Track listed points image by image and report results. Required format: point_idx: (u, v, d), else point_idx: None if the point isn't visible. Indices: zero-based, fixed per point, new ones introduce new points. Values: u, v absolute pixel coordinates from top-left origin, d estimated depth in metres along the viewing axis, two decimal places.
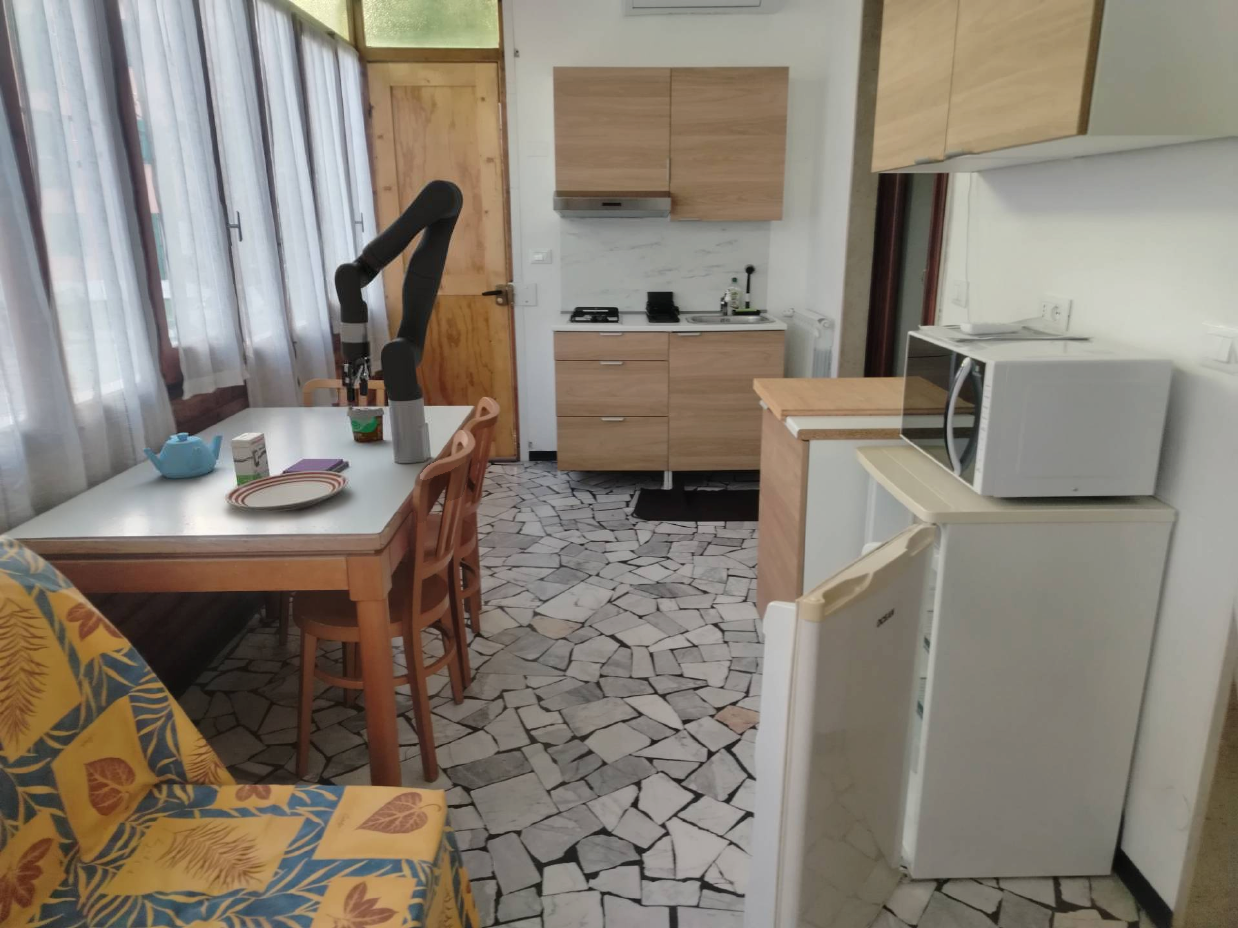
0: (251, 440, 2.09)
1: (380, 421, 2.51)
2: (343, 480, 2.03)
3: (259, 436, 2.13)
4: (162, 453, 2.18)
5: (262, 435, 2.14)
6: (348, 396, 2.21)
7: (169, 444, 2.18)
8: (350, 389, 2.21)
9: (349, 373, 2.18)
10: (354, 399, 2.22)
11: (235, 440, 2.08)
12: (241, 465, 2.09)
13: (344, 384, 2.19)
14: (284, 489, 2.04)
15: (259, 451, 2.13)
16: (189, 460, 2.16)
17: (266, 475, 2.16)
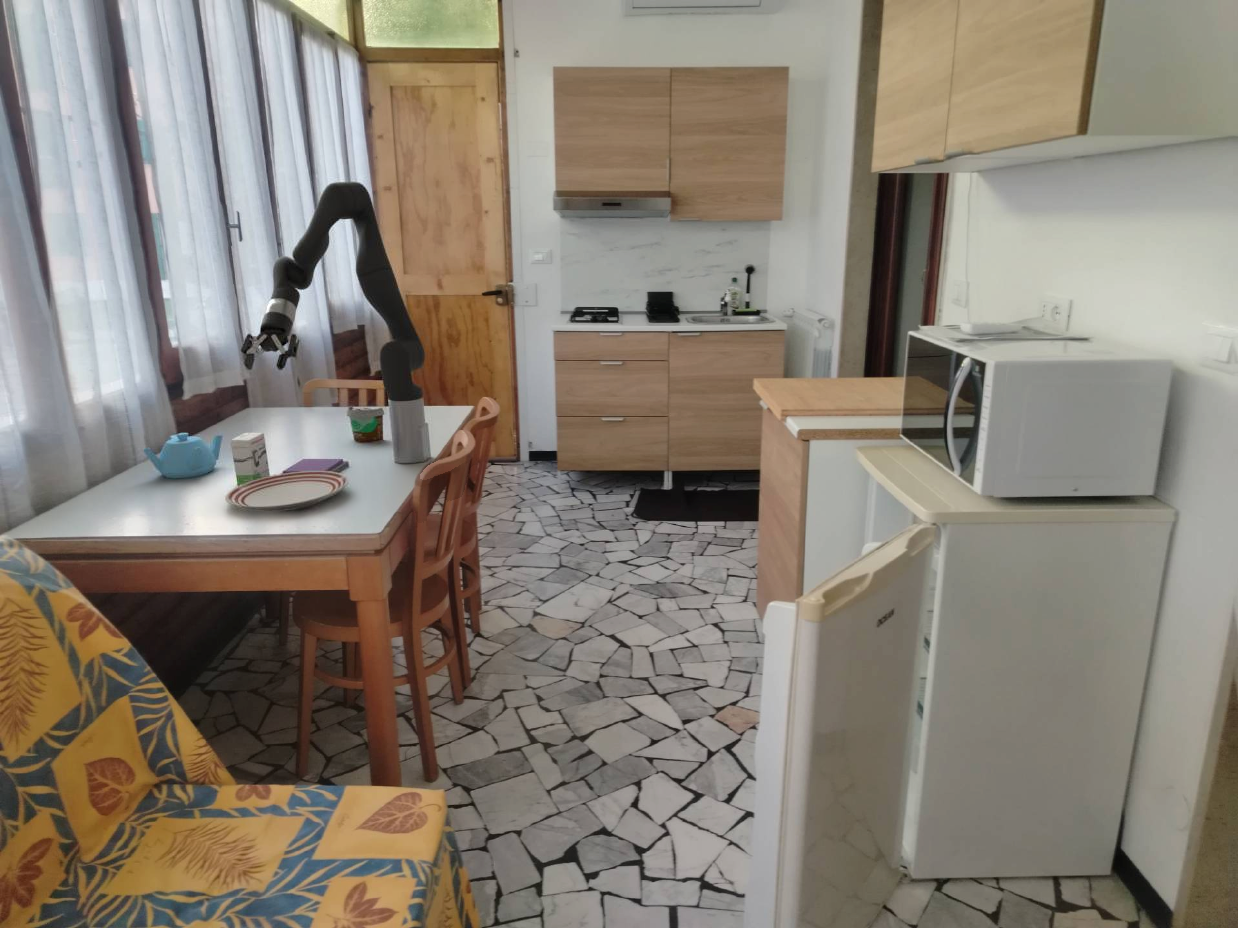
0: (251, 440, 2.09)
1: (380, 421, 2.51)
2: (343, 480, 2.03)
3: (259, 436, 2.13)
4: (162, 453, 2.18)
5: (262, 435, 2.14)
6: None
7: (169, 444, 2.18)
8: None
9: None
10: (246, 363, 2.19)
11: (235, 440, 2.08)
12: (241, 465, 2.09)
13: None
14: (284, 489, 2.04)
15: (259, 451, 2.13)
16: (189, 460, 2.16)
17: (266, 475, 2.16)
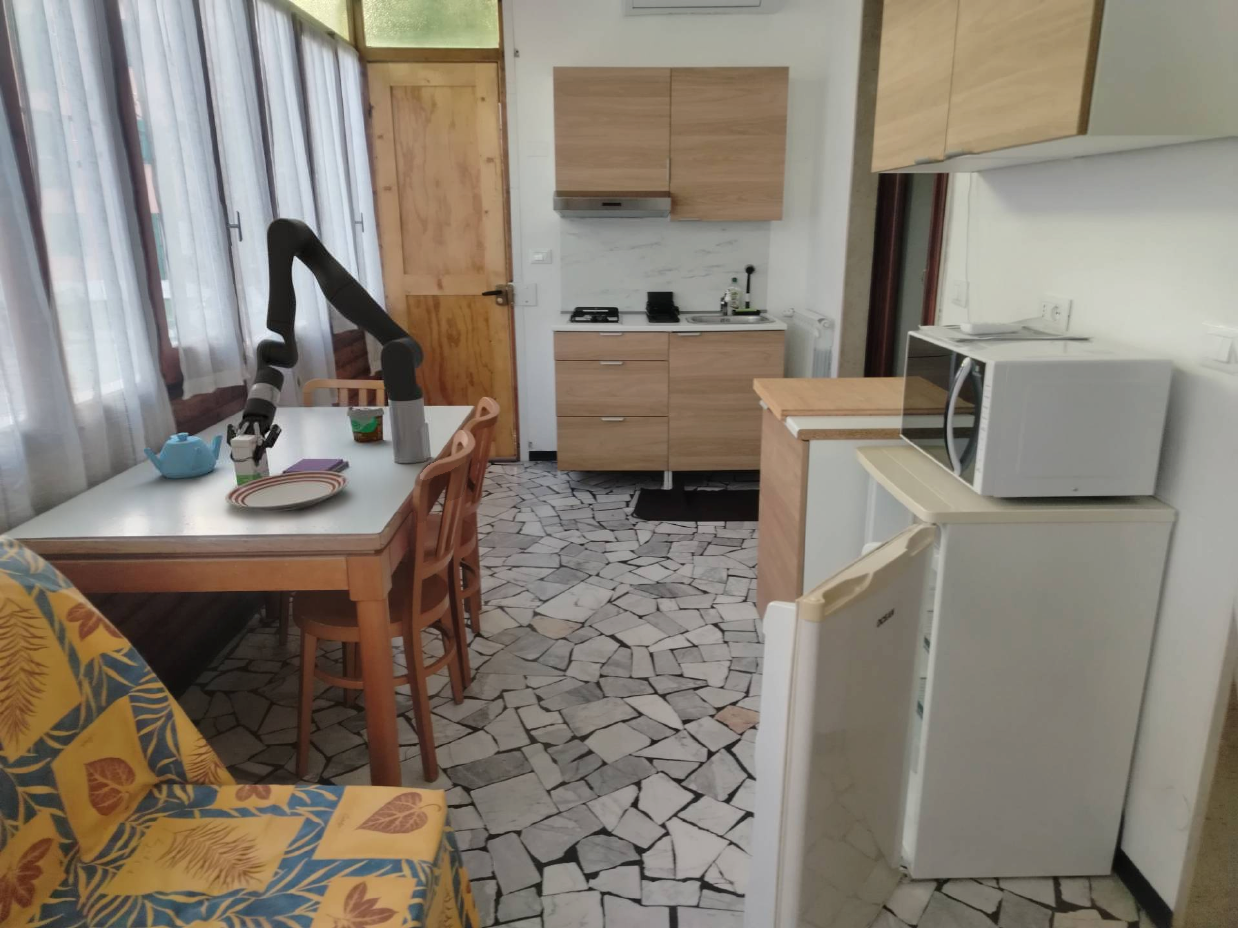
0: (251, 440, 2.09)
1: (380, 421, 2.51)
2: (343, 480, 2.03)
3: None
4: (162, 453, 2.18)
5: None
6: None
7: (169, 444, 2.18)
8: None
9: None
10: None
11: (235, 440, 2.08)
12: (240, 465, 2.09)
13: None
14: (284, 489, 2.04)
15: None
16: (189, 460, 2.16)
17: (266, 475, 2.16)
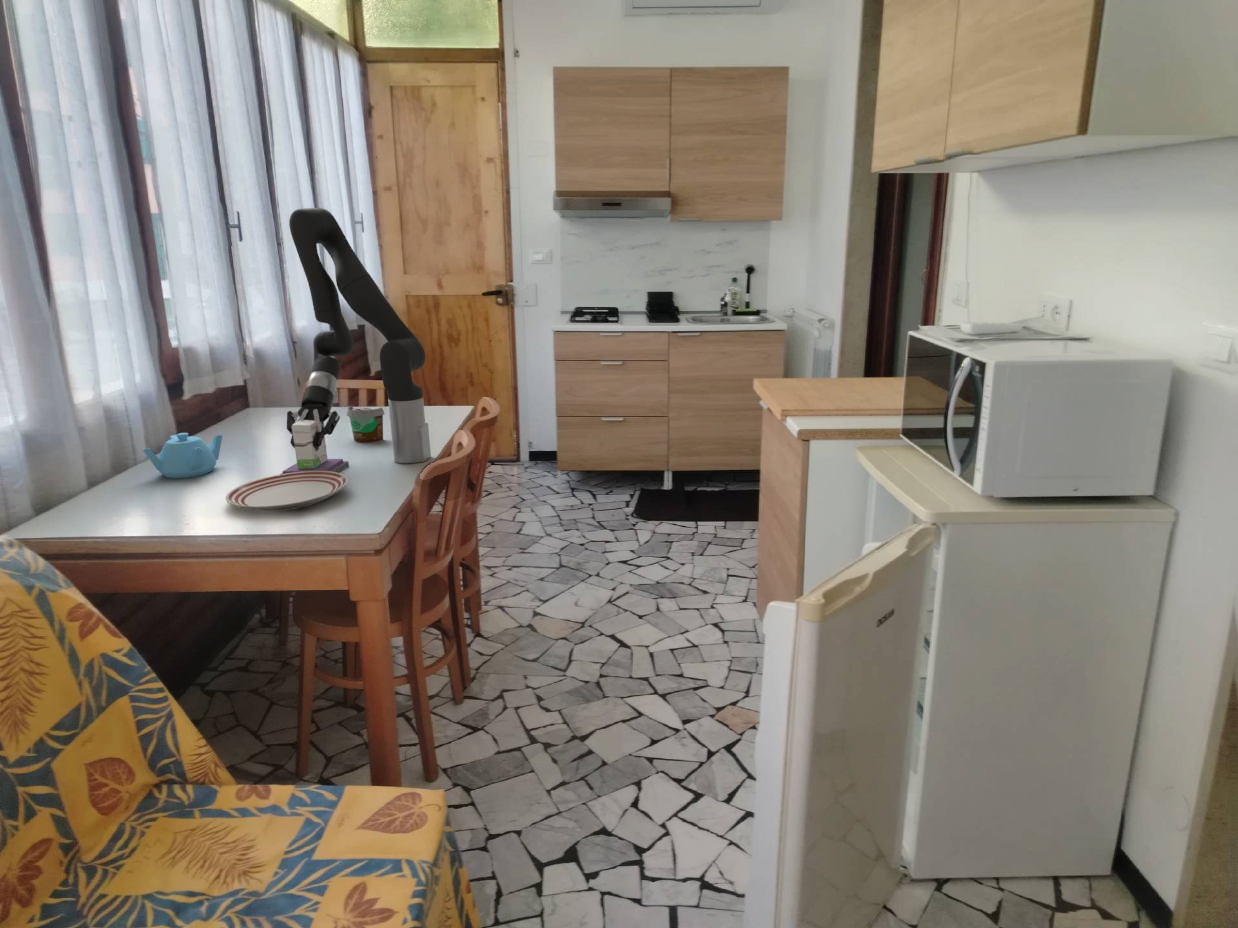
0: (311, 425, 2.14)
1: (380, 421, 2.51)
2: (343, 480, 2.03)
3: None
4: (162, 453, 2.18)
5: None
6: None
7: (169, 444, 2.18)
8: None
9: None
10: None
11: (296, 425, 2.13)
12: (301, 450, 2.14)
13: None
14: (284, 489, 2.04)
15: None
16: (189, 460, 2.16)
17: (324, 459, 2.21)
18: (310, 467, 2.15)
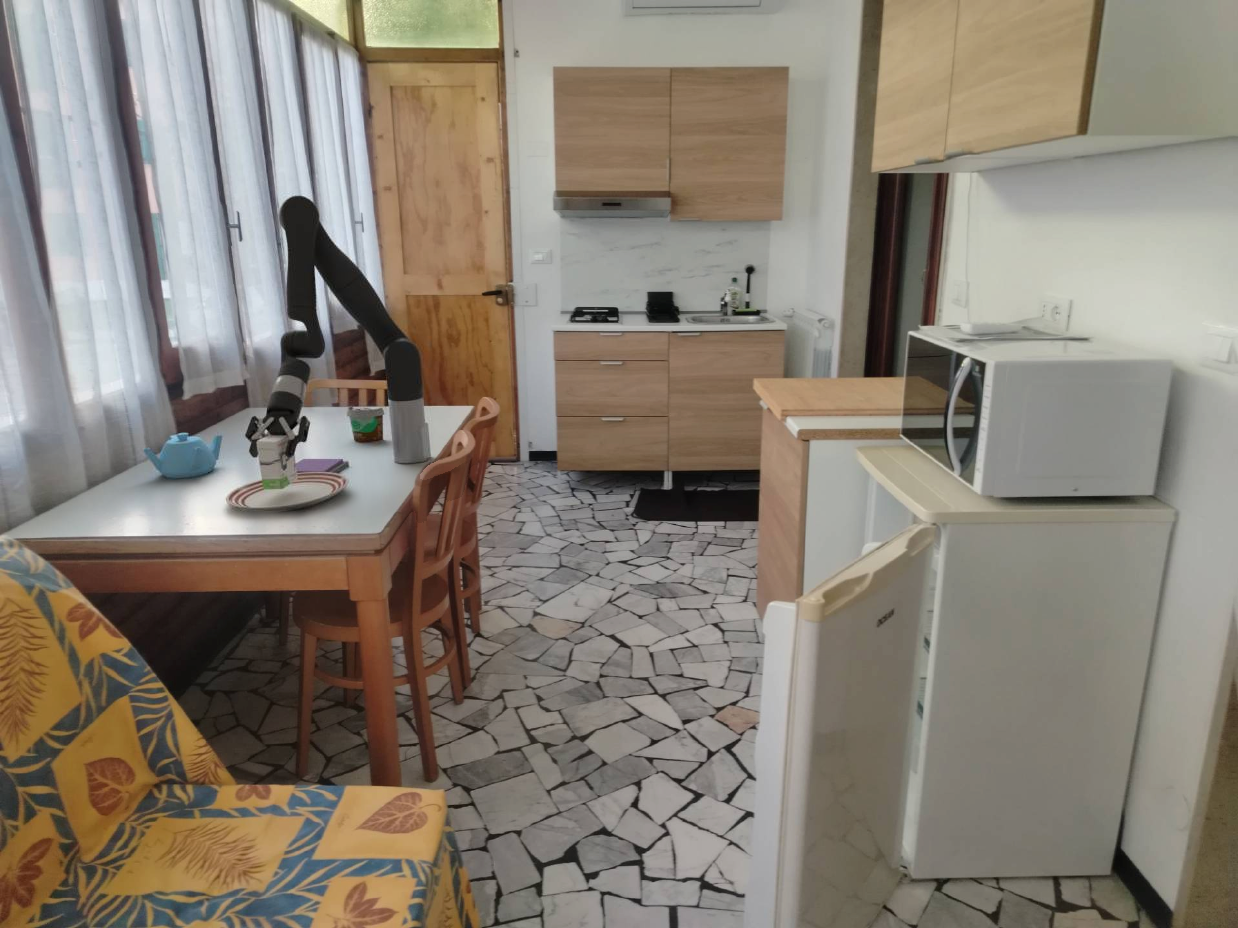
0: (278, 441, 1.94)
1: (380, 421, 2.51)
2: (343, 481, 2.03)
3: (287, 437, 1.99)
4: (162, 453, 2.18)
5: None
6: None
7: (169, 444, 2.18)
8: None
9: None
10: (251, 451, 1.96)
11: (261, 441, 1.94)
12: (267, 468, 1.95)
13: None
14: (284, 490, 2.04)
15: None
16: (189, 460, 2.16)
17: (294, 479, 2.02)
18: (277, 488, 1.96)
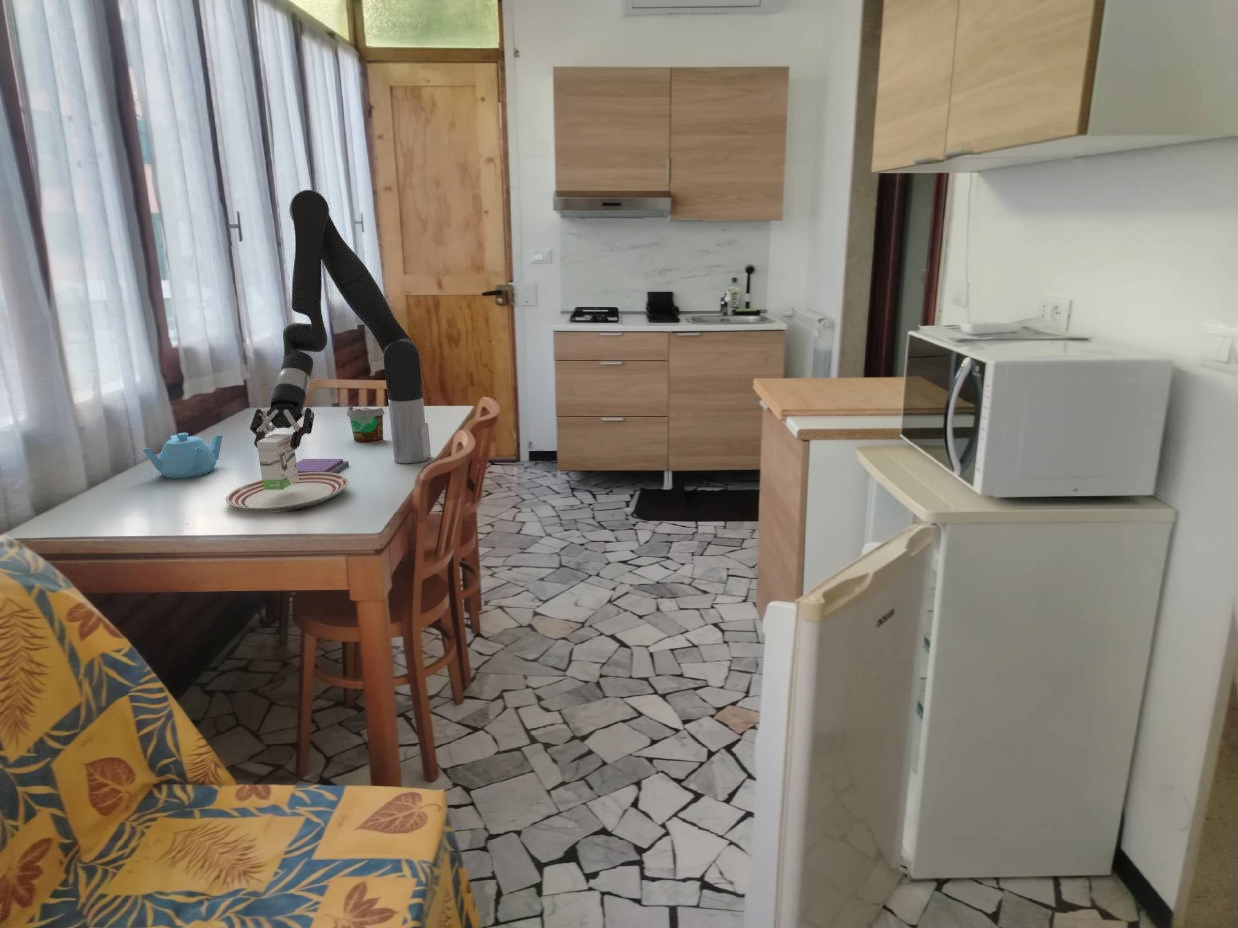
0: (278, 442, 1.94)
1: (380, 421, 2.51)
2: (343, 481, 2.03)
3: (287, 438, 1.98)
4: (162, 453, 2.18)
5: (291, 437, 2.00)
6: None
7: (169, 444, 2.18)
8: None
9: None
10: (256, 443, 1.97)
11: (262, 442, 1.93)
12: (267, 469, 1.95)
13: None
14: (284, 490, 2.04)
15: (287, 454, 1.98)
16: (189, 460, 2.16)
17: (294, 480, 2.02)
18: (277, 488, 1.96)
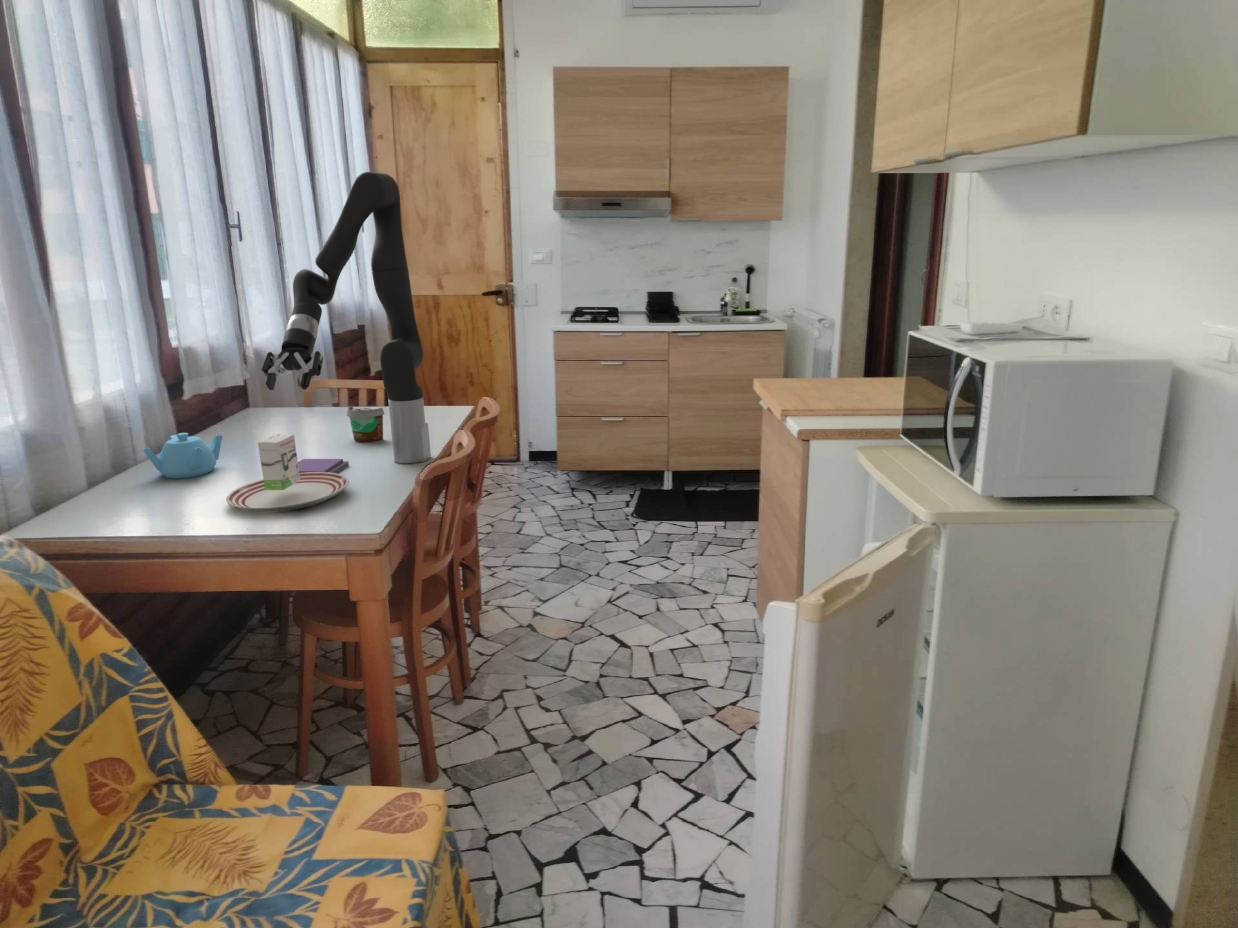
0: (280, 442, 1.94)
1: (380, 421, 2.51)
2: (343, 481, 2.03)
3: (289, 438, 1.98)
4: (162, 453, 2.18)
5: (292, 437, 1.99)
6: None
7: (169, 444, 2.18)
8: None
9: None
10: None
11: (263, 442, 1.93)
12: (268, 469, 1.94)
13: None
14: (284, 490, 2.04)
15: (288, 455, 1.98)
16: (189, 460, 2.16)
17: (296, 480, 2.01)
18: (278, 488, 1.95)
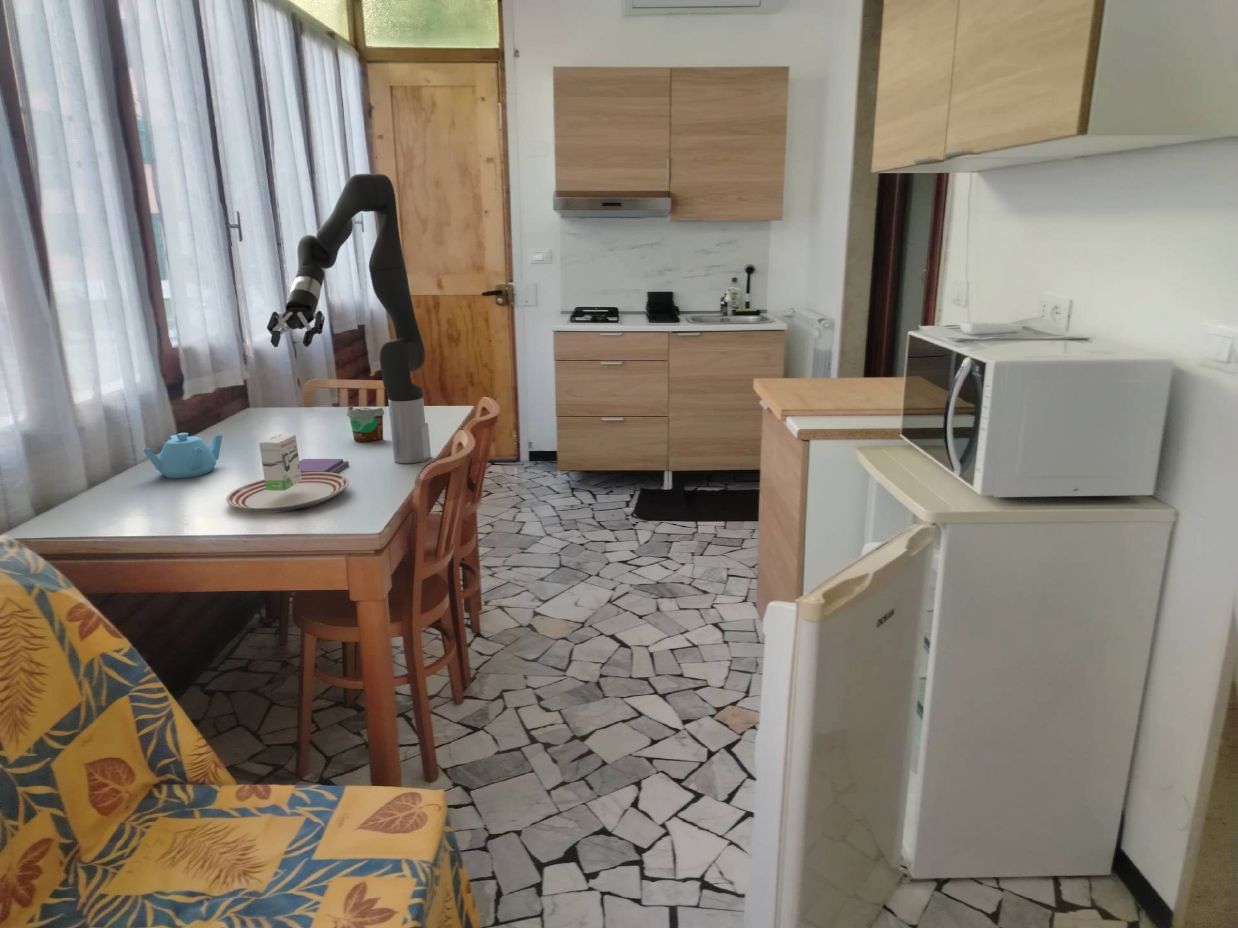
0: (281, 443, 1.93)
1: (380, 421, 2.51)
2: (344, 481, 2.03)
3: (290, 438, 1.97)
4: (162, 453, 2.18)
5: (294, 437, 1.99)
6: None
7: (169, 444, 2.18)
8: None
9: None
10: None
11: (264, 442, 1.93)
12: (269, 470, 1.94)
13: None
14: (285, 490, 2.04)
15: (290, 455, 1.97)
16: (189, 460, 2.16)
17: (297, 480, 2.01)
18: (279, 489, 1.95)
